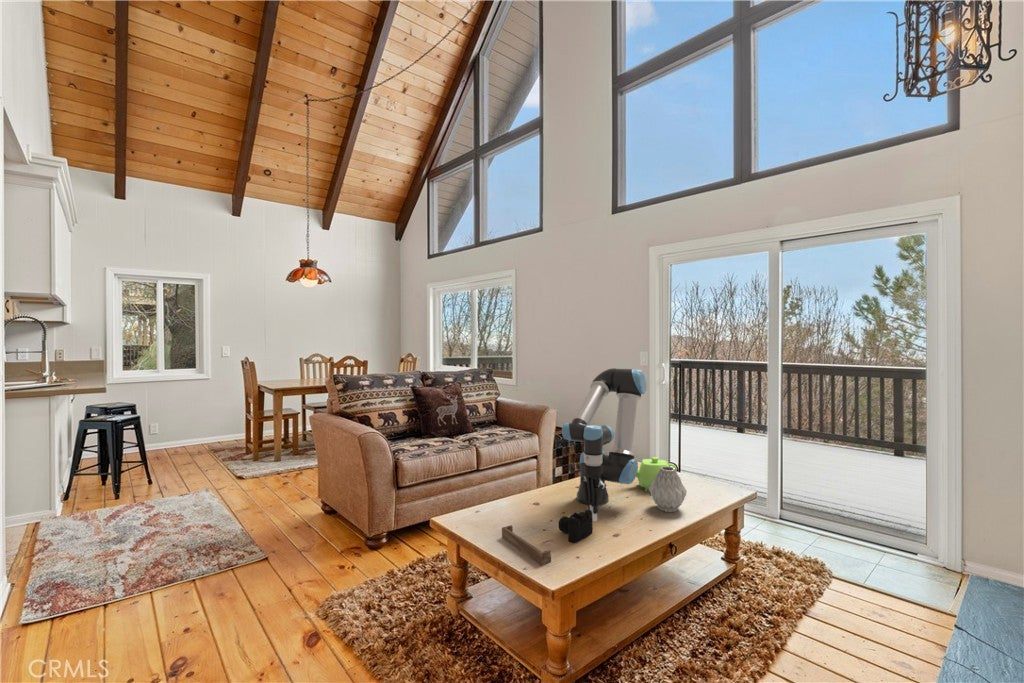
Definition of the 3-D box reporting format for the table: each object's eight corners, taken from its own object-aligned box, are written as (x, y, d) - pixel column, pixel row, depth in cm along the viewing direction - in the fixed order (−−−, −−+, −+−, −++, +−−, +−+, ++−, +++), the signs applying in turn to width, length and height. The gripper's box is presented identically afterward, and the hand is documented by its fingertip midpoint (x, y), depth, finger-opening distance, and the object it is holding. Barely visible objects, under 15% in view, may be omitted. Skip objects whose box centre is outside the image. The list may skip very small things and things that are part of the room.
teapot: (674, 481, 251) (674, 451, 251) (679, 495, 230) (679, 463, 230) (626, 478, 257) (626, 449, 256) (626, 491, 236) (626, 460, 235)
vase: (645, 502, 221) (645, 463, 221) (680, 502, 221) (680, 463, 220) (654, 516, 205) (654, 474, 204) (692, 516, 204) (692, 474, 204)
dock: (511, 535, 187) (510, 525, 187) (550, 561, 165) (550, 550, 165) (502, 537, 185) (501, 527, 185) (541, 565, 163) (541, 553, 163)
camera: (574, 525, 196) (574, 502, 196) (596, 533, 188) (595, 508, 188) (553, 536, 186) (553, 511, 186) (575, 545, 178) (575, 519, 178)
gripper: (575, 461, 197) (576, 517, 197) (597, 469, 186) (597, 528, 186) (589, 458, 201) (589, 513, 201) (611, 466, 190) (611, 523, 190)
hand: (593, 520), depth 194 cm, fingers closed
